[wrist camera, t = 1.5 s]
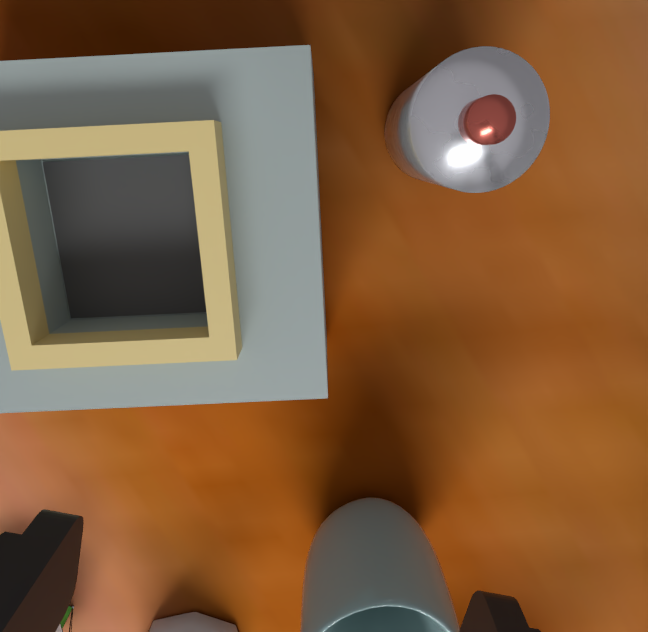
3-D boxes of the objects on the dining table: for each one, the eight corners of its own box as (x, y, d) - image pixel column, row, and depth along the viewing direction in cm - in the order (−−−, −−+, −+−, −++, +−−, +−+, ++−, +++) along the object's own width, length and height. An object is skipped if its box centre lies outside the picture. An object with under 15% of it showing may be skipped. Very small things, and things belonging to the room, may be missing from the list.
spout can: (483, 76, 28) (572, 33, 18) (480, 178, 30) (561, 192, 20) (383, 81, 28) (417, 42, 18) (385, 183, 30) (417, 199, 20)
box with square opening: (313, 74, 28) (309, 36, 19) (326, 339, 32) (328, 413, 23) (-4, 90, 28) (-159, 61, 19) (47, 352, 32) (-62, 431, 23)
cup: (385, 455, 34) (409, 574, 25) (452, 544, 36) (499, 687, 26) (282, 519, 35) (266, 655, 26) (351, 601, 37) (361, 758, 28)
